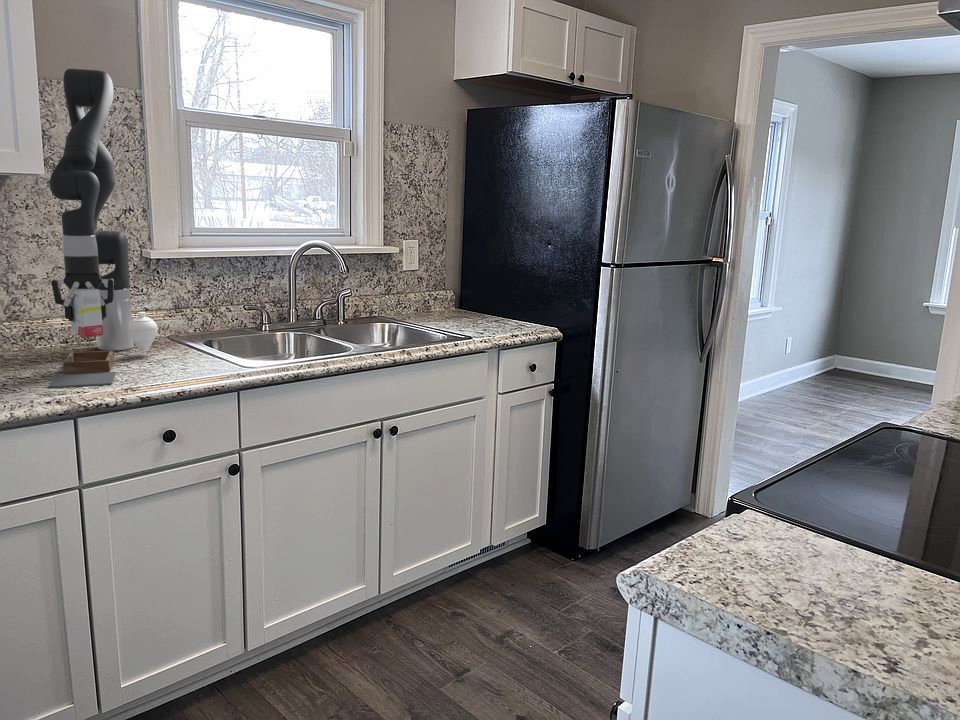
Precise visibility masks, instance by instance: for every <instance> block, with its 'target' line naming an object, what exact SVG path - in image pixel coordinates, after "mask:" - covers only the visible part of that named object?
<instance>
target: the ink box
mask: <svg viewBox="0 0 960 720" xmlns="http://www.w3.org/2000/svg"><path fill="white" fill-rule="evenodd" d="M67 291H68V293H67V294H69V292H70V289H69V288H68V287H67ZM71 294H72V293H71ZM70 305H71V306H72V316H73V321H70V327H71V334H73V335H76V336H79V337H82V338H92V337H97V336H102V335H103V325H102V313H101V301H100V290H98V289H75V294H74V297H73V298H72V301H71V303H70Z"/></svg>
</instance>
